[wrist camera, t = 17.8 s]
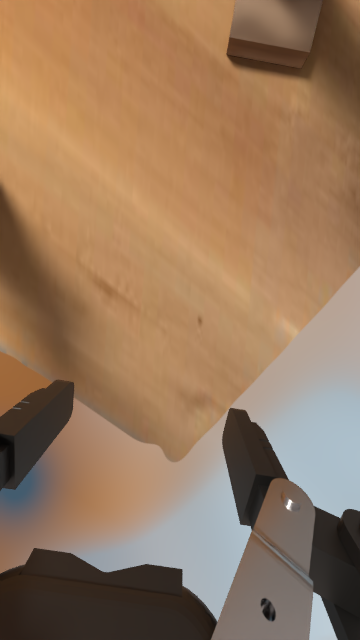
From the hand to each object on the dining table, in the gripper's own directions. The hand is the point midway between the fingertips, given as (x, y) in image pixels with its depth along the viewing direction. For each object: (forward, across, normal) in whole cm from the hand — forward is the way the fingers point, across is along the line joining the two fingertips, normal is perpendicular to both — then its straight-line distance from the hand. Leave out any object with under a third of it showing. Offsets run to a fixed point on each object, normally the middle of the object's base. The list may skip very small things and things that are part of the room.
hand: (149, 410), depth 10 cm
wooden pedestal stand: (+25, -6, -42) cm, 49 cm away
